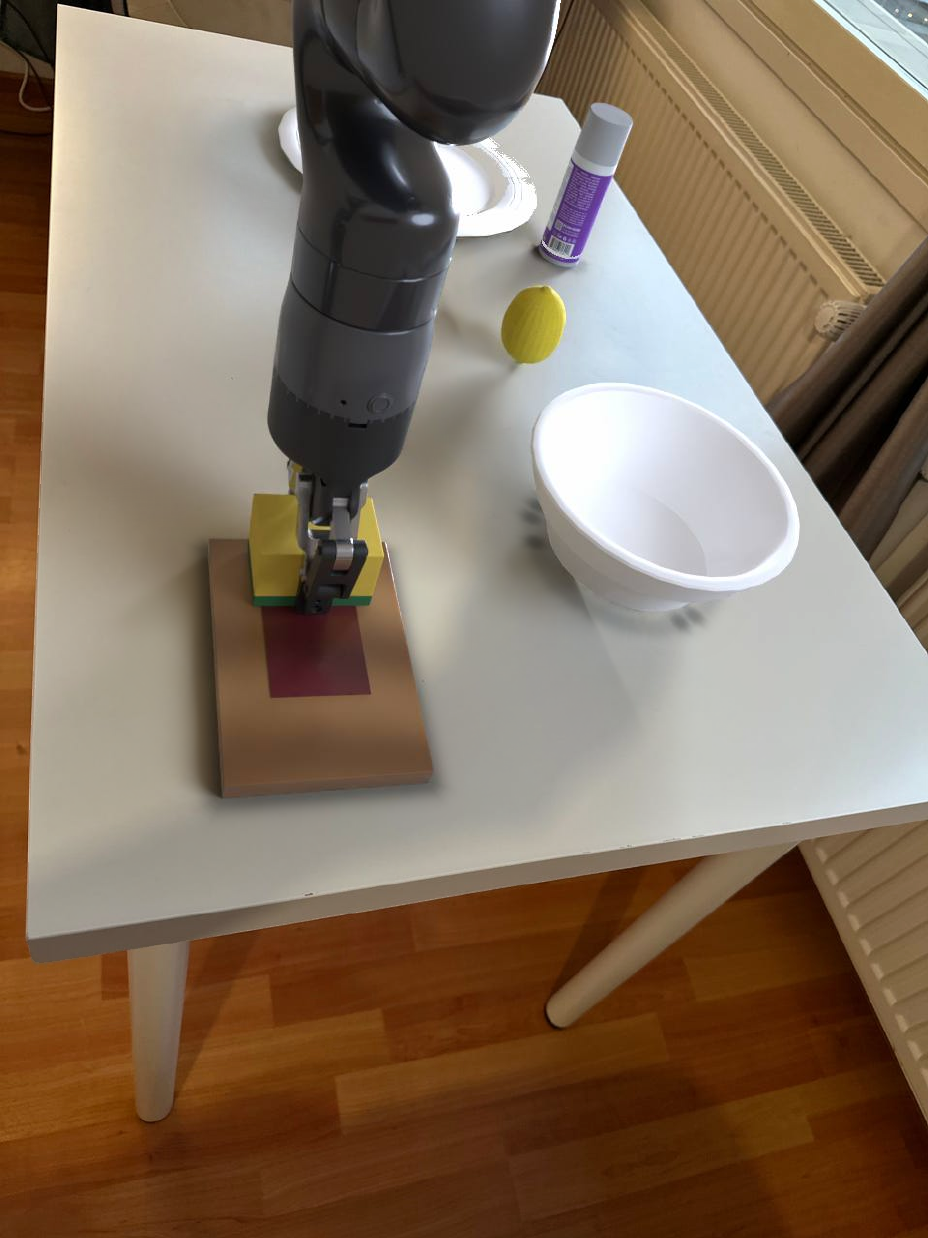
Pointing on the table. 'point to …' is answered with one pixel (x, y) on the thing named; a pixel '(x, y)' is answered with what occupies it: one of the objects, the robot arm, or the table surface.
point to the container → (585, 183)
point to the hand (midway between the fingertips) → (307, 575)
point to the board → (311, 689)
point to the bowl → (658, 498)
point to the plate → (457, 184)
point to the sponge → (299, 552)
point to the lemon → (533, 324)
